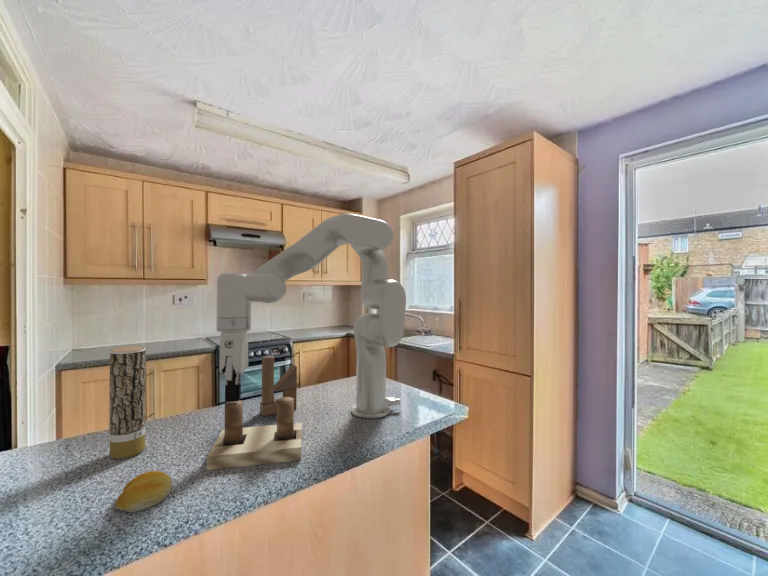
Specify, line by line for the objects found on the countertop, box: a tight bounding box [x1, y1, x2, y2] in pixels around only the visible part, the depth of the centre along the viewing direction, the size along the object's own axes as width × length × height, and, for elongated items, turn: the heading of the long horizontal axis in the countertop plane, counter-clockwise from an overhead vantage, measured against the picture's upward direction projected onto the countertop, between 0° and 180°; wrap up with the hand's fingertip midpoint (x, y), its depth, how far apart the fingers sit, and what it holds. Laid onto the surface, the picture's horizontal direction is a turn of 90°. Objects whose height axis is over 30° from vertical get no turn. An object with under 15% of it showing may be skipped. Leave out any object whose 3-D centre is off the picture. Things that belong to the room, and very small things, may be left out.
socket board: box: [206, 422, 303, 471], centre depth 82 cm, size 20×14×3 cm
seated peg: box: [276, 396, 295, 441], centre depth 83 cm, size 4×4×12 cm
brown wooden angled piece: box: [259, 355, 298, 417], centre depth 107 cm, size 4×11×18 cm, turn 126°
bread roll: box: [115, 470, 173, 513], centre depth 63 cm, size 8×9×4 cm
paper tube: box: [108, 346, 147, 460], centre depth 80 cm, size 7×7×25 cm
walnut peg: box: [224, 400, 244, 446], centre depth 80 cm, size 4×4×12 cm
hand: (232, 400), depth 80 cm, fingers closed
